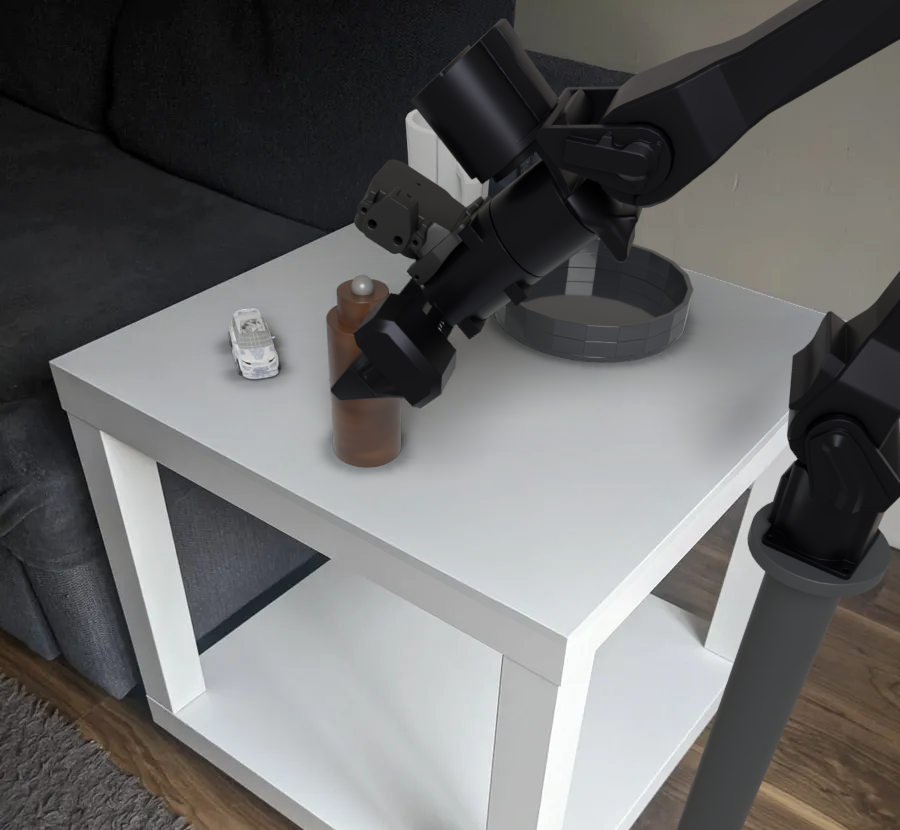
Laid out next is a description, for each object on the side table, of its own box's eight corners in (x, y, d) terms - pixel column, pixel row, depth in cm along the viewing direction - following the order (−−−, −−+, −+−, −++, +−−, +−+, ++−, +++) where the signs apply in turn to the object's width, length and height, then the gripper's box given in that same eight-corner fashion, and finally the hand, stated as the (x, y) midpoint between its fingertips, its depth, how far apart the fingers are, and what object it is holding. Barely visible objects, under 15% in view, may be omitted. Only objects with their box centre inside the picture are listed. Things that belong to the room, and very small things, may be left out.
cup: (518, 241, 104) (528, 121, 96) (469, 271, 99) (475, 147, 90) (438, 214, 108) (441, 97, 100) (386, 242, 103) (385, 120, 95)
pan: (717, 308, 95) (725, 273, 93) (625, 385, 84) (631, 348, 82) (558, 253, 102) (562, 220, 100) (455, 318, 92) (457, 282, 89)
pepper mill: (414, 444, 77) (416, 274, 67) (371, 476, 74) (367, 302, 64) (363, 420, 79) (358, 252, 69) (319, 450, 76) (307, 278, 66)
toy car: (240, 385, 82) (236, 353, 80) (227, 338, 88) (222, 307, 86) (284, 379, 83) (281, 347, 81) (268, 333, 89) (265, 302, 86)
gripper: (475, 83, 65) (326, 221, 75) (386, 186, 52) (219, 338, 62) (576, 218, 70) (423, 333, 79) (517, 345, 57) (342, 464, 66)
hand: (357, 361), depth 71 cm, fingers open, 9 cm apart
